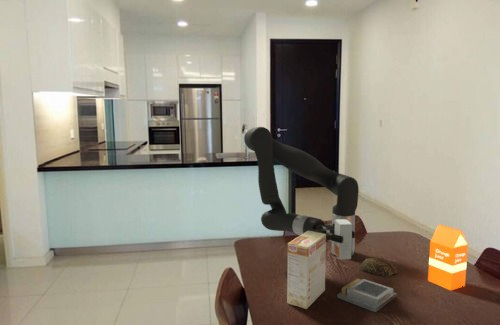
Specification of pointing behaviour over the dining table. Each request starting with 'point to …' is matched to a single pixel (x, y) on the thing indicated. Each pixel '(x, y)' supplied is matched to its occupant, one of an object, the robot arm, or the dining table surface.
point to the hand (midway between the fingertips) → (348, 237)
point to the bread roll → (378, 267)
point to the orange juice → (448, 258)
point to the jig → (367, 294)
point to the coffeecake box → (306, 268)
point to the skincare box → (345, 230)
